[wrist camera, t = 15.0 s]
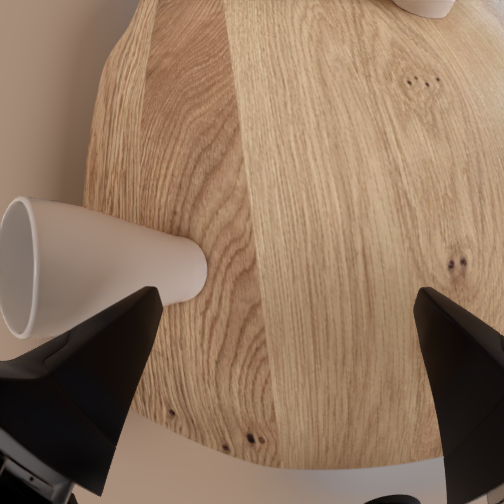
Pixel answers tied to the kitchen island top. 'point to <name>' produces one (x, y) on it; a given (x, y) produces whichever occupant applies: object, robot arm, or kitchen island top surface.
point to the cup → (426, 7)
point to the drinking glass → (84, 265)
